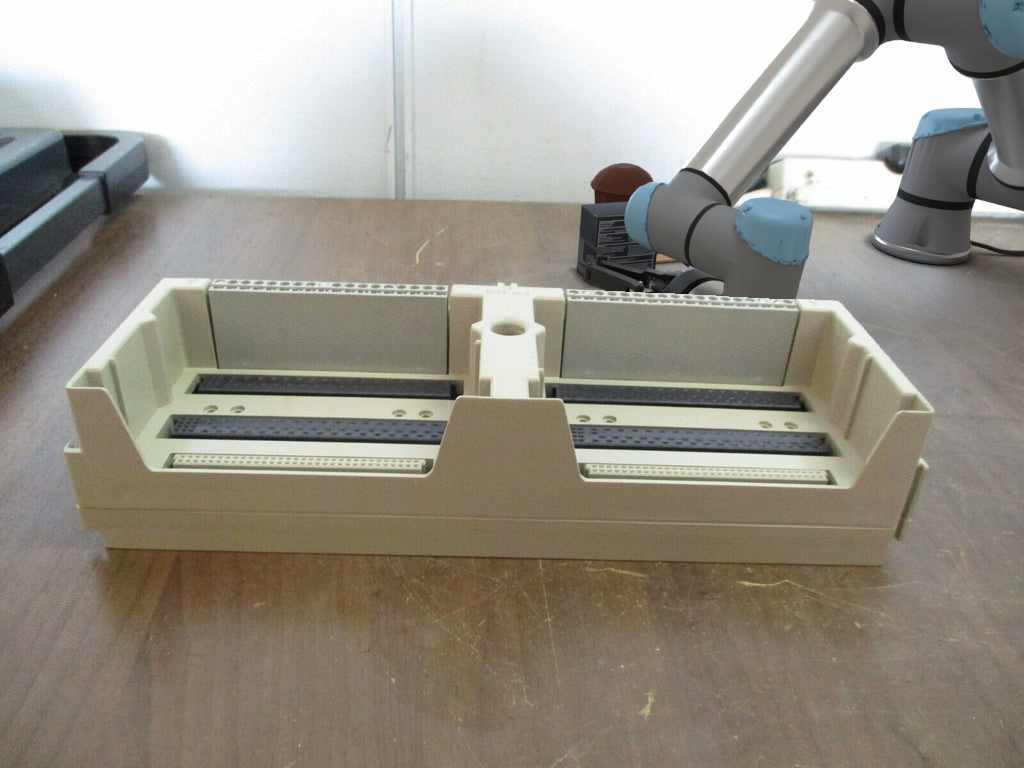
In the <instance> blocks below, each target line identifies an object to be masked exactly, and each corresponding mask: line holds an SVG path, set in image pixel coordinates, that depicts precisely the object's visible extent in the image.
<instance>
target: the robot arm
mask: <svg viewBox="0 0 1024 768" xmlns="http://www.w3.org/2000/svg"><path fill="white" fill-rule="evenodd" d="M893 41H904V42H909V43H916V44H923V45H931V46H939V47H941V48H942V49H944V51H945V54H946V57H947V60H948V62H949V64H950V66H951V67H952V68H953V69H954V71H956V72H957V73H958V74H959V75H961V76H964V77H965V78H969V79H971V81H972V85H973V87H974V90H975V93H976V96H977V99H978V101H979V104H980V107H946V108H945V107H943V108H937V109H936V108H935V109H932V110H929V111H927V112H925V113H924V114H922V116H921V117H920V119H919V122H918V124H917V126H916V129H915V132H914V135H913V136H912V138H911V144H910V148H909V151H908V154H907V159H906V160H905V161H906V162H905V165H904V169H903V172H902V175H901V178H900V182H899V186H898V189H897V193H896V195H895V198H894V200H893V201H892V203H891V204H890V205H889V208H888V209H887V211H886V213H885V214H884V215H883V217H882V219H881V221H880V222H879V223H878V224H877V225H876V226H875V228H874V229H873V233H872V237H871V243H872V245H873V246H874V247H875V248H877V249H878V250H880V251H882V252H883V253H886V254H888V255H890V256H893V257H897V258H900V259H904V260H906V261H912V262H916V263H921V264H929V265H944V266H945V265H958V264H961V263H965V262H966V261H967V260H968V258H969V256H970V253H971V251H972V247H977V248H981V249H984V250H986V251H989V252H992V253H997V254H1001V255H1007V256H1008V255H1009V256H1024V250H1012V249H1010V250H1009V249H1002V248H999V247H995V246H993V245H990V244H985V243H982V242H979V241H974V240H971V233H972V232H971V230H972V211H973V208H974V205H975V204H976V203H975V202H976V200H978V201H982V202H985V203H988V204H989V203H990V204H992V205H993V204H994V205H998V206H1000V207H1005V208H1009V209H1012V210H1016V211H1021V212H1024V0H812V1H811V2H810V3H809V4H808V6H807V7H806V10H805V13H804V23H803V24H802V25H801V26H800V28H799V29H798V30H797V31H796V33H795V34H794V35H793V36H792V37H791V38H790V40H789V41H788V42H787V43H786V44H785V46H784V47H783V48H782V49H781V50H780V52H779V53H778V54H777V55H776V56H775V58H774V59H773V60H772V61H771V62H770V64H768V66H767V67H766V68H765V69H764V70H763V72H762V73H761V74H760V75H759V76H758V78H757V79H756V80H755V81H754V82H753V83H752V84H751V86H750V87H749V88H748V89H747V91H745V93H744V94H743V95H742V96H741V98H740V99H739V100H738V101H737V102H736V104H735V105H734V106H733V107H732V108H731V109H730V111H729V112H728V113H727V114H726V115H725V117H723V119H722V120H721V121H720V123H719V124H718V125H717V126H716V127H715V128H714V130H713V131H712V132H711V133H710V134H709V135H708V137H707V138H706V139H705V140H704V141H703V142H702V144H701V145H700V146H699V147H698V148H697V149H696V151H695V152H694V153H693V154H692V156H690V158H689V159H688V161H686V163H684V165H683V166H682V168H681V169H679V171H678V172H677V173H676V175H674V176H673V178H672V179H671V180H670V181H669V183H666V182H663V181H660V182H659V181H654V182H649V183H647V184H645V185H643V186H640V187H639V188H638V189H637V190H636V191H635V192H634V194H633V195H632V196H631V198H630V200H629V202H628V204H627V207H626V211H625V227H626V230H627V232H628V235H629V236H630V237H631V238H632V239H633V240H634V241H635V242H637V243H639V244H640V245H642V246H644V247H646V248H648V249H650V250H651V251H653V252H654V253H657V254H662V255H665V256H667V257H670V258H672V259H675V260H677V261H678V262H679V263H681V264H683V265H684V266H685V267H687V269H686V270H685V271H682V270H674V271H670V270H666V271H663V270H658V269H656V268H655V269H651V268H648V269H646V270H645V271H644V270H640V269H636V268H632V267H628V266H625V265H621V264H617V263H613V262H609V261H607V260H608V257H607V256H606V255H604V254H603V253H602V252H601V251H600V250H599V249H598V248H597V247H595V246H594V245H593V244H592V243H591V242H590V241H584V250H583V260H584V261H585V262H586V264H585V274H584V277H583V282H584V283H586V284H589V285H591V286H593V287H596V288H598V289H601V290H603V291H606V292H608V291H625V292H645V293H675V294H694V295H716V296H729V297H748V298H769V299H795V301H796V300H797V296H798V292H799V289H800V284H801V280H802V276H803V273H804V268H805V264H806V262H807V260H808V258H809V255H810V244H811V239H812V233H813V227H814V216H813V214H812V213H811V210H810V209H808V207H806V206H804V205H803V204H800V203H798V202H795V201H792V200H788V199H779V198H777V197H766V196H765V197H762V196H761V197H753V198H749V199H747V200H745V201H743V203H742V204H741V205H740V207H739V209H738V208H736V207H734V206H736V204H737V203H738V202H739V201H740V200H741V198H742V197H743V196H744V195H745V193H746V192H747V191H748V190H749V189H750V188H751V186H753V184H754V183H755V182H756V181H757V179H759V177H760V176H761V175H762V173H763V172H764V171H765V170H766V169H767V168H768V166H769V165H770V164H771V163H772V162H773V160H774V159H775V158H776V157H777V155H778V154H779V153H780V152H781V151H782V150H783V148H784V147H785V146H786V145H787V143H788V142H789V141H790V140H791V139H792V137H794V135H795V134H796V133H797V132H798V130H799V129H800V128H801V127H802V126H803V125H804V123H805V122H806V121H807V120H808V119H809V118H810V117H811V115H812V114H813V113H814V112H815V110H816V109H817V108H818V106H820V104H821V103H822V102H823V101H824V100H825V98H827V96H828V95H829V94H830V92H831V91H832V90H833V89H834V88H835V87H836V86H837V84H838V83H839V81H841V79H842V78H843V77H844V76H845V75H846V73H848V71H849V70H850V69H851V68H852V66H853V65H854V64H855V63H860V62H864V61H866V60H868V59H869V58H870V57H871V56H873V54H875V52H876V51H877V50H878V48H879V47H880V46H882V45H883V44H885V43H889V42H893ZM651 276H653V277H655V278H654V279H651ZM651 280H652V282H651Z"/></svg>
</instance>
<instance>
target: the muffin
mask: <svg viewBox="0 0 1024 768" xmlns="http://www.w3.org/2000/svg"><path fill="white" fill-rule="evenodd" d="M649 182H655V181H654V179H653V177H652V175H651V174H650V173H649V172H648V171H647V170H646V169H644V168H643V167H641V166H639V165H637V164H633V163H627V162H619V163H613V164H610V165H608V166H606V167H604V168H602V169H601V170H599V171H598V172H597V173H596V174H595V176H594V177H593V178H592V180H591V181H590V188H592V190H593V194H594V197H593V198H594V204H601V203H615V202H629V200H630V198H631V196H632V195H633V194H634V192H635V191H636V190H637V189H638V188H639V187H640V186H643V185H645V184H647V183H649Z"/></svg>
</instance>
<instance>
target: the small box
mask: <svg viewBox="0 0 1024 768" xmlns="http://www.w3.org/2000/svg"><path fill="white" fill-rule="evenodd" d="M627 204H628V202H615V203H601V204H595V203H590V204H589V203H587V204H581V207H580V221H579V234H578V248H577V260H576V271H577V273H578V274H580V275H581V277H583V278H584V274H585V264H586V262H585V261H584V260H583V250H584V241H590V242H591V243H592V244H593V245H594V246H595V247H597V248H598V249H599V250H600V251H601V252H602V253H603V254H604V255H606V256H607V257H608V260H607V261H609V262H613V263H617V264H621V265H625V266H628V267H632V268H636V269H640V270H644V271H645V270H646V269H648V268H651V269H655V270H656V267H657V266H656V265H657V263H656V258H657V253H654V252H653V251H651V250H650V249H648V248H646V247H644V246H642V245H640V244H639V243H637V242H635V241H634V240H633V239H632V238H631V237H630V236H629V235H628V232H627V230H626V227H625V211H626V207H627ZM654 278H655V277H653V276H651V279H650V280H654Z"/></svg>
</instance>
